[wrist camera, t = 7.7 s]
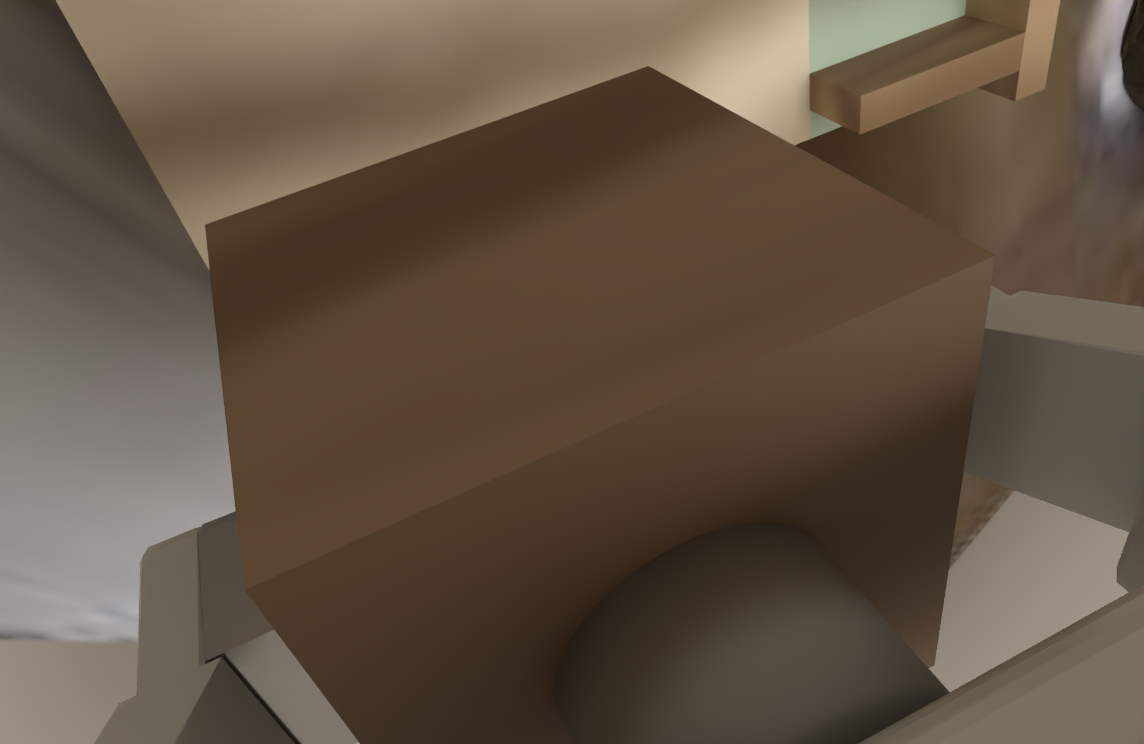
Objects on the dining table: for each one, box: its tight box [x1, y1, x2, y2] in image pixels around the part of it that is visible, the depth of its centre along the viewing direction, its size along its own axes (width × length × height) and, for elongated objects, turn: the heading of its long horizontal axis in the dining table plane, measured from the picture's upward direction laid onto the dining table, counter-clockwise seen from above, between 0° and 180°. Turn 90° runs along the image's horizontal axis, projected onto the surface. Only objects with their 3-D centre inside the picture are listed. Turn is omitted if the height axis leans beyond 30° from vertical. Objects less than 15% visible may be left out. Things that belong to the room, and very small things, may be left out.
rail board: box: [56, 0, 1060, 271], centre depth 22 cm, size 12×26×4 cm, turn 103°
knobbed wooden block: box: [205, 66, 996, 744], centre depth 8 cm, size 5×5×6 cm
